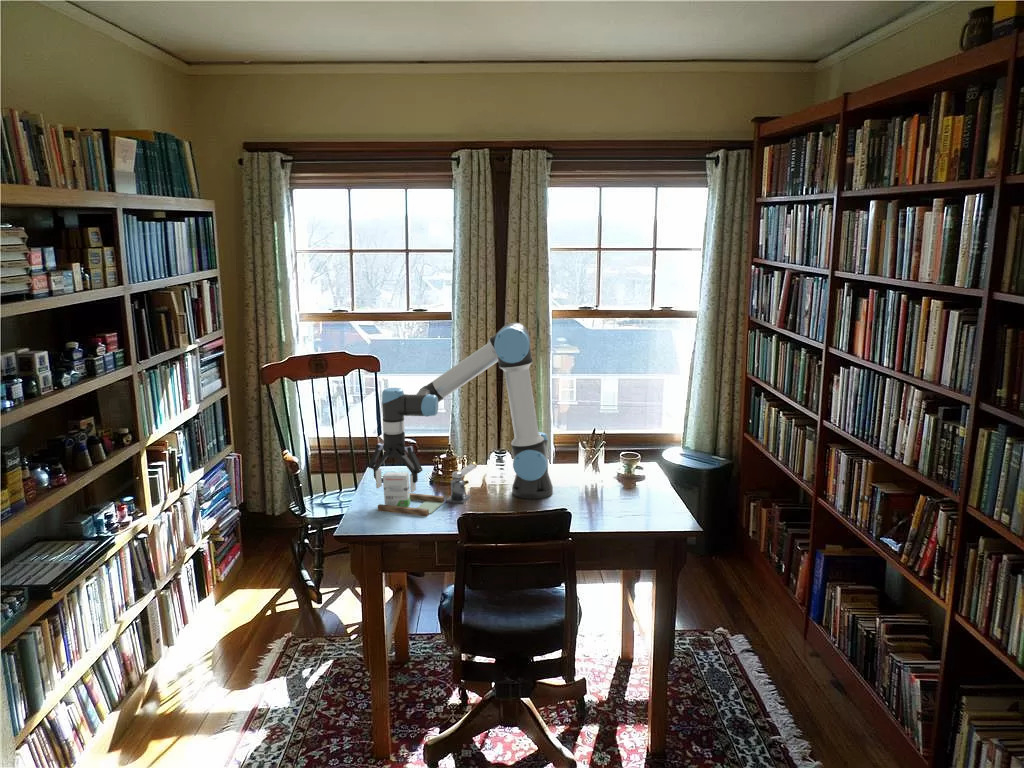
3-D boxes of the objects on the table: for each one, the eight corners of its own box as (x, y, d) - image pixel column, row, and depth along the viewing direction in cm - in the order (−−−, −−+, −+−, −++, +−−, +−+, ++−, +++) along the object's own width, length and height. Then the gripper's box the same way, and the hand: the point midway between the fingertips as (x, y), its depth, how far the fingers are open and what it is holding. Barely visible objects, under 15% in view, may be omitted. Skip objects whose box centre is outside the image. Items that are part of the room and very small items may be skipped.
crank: (459, 481, 277) (459, 474, 277) (450, 480, 279) (450, 473, 278) (479, 468, 292) (479, 461, 291) (470, 467, 293) (470, 460, 293)
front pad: (443, 503, 277) (443, 502, 277) (430, 514, 267) (430, 513, 267) (425, 501, 279) (425, 500, 279) (412, 512, 269) (412, 511, 269)
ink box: (411, 502, 279) (409, 471, 276) (407, 507, 274) (406, 475, 272) (387, 502, 280) (386, 471, 277) (384, 507, 275) (382, 475, 272)
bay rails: (444, 501, 279) (444, 496, 279) (426, 516, 265) (426, 510, 265) (397, 497, 285) (397, 491, 285) (377, 511, 271) (377, 505, 271)
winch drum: (470, 497, 283) (469, 476, 282) (463, 503, 277) (462, 482, 275) (453, 495, 285) (452, 474, 284) (445, 501, 279) (444, 480, 277)
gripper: (430, 431, 271) (432, 489, 275) (367, 426, 279) (370, 482, 283) (421, 437, 264) (423, 496, 268) (357, 431, 272) (359, 488, 276)
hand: (396, 489), depth 276 cm, fingers open, 13 cm apart
